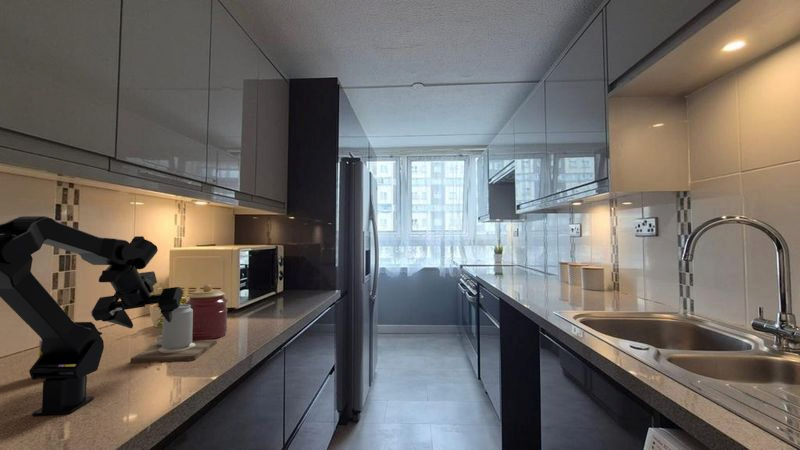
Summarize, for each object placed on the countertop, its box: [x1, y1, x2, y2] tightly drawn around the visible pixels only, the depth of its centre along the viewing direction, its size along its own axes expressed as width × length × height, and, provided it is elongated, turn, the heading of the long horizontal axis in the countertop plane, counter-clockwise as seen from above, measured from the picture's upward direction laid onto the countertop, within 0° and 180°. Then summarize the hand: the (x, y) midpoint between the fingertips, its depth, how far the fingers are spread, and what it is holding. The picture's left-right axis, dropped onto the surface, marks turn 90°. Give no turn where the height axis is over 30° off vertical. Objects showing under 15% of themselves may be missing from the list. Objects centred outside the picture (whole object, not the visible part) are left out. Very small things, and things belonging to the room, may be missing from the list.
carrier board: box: [130, 337, 218, 364], centre depth 103 cm, size 16×16×3 cm
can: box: [161, 303, 193, 350], centre depth 103 cm, size 8×8×12 cm
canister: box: [184, 283, 229, 340], centre depth 121 cm, size 13×13×18 cm
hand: (151, 323), depth 94 cm, fingers open, 9 cm apart
